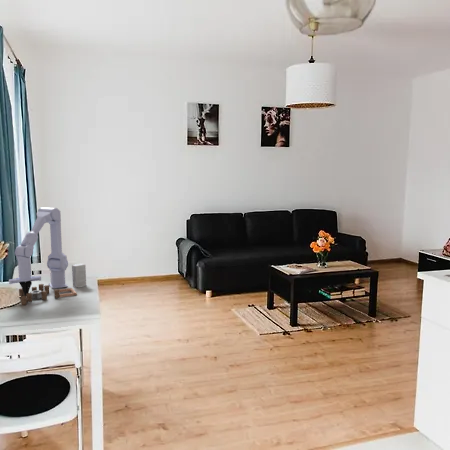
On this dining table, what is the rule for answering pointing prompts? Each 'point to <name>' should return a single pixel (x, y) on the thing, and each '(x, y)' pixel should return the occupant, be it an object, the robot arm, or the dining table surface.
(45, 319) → the dining table surface
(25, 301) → the walnut spacers
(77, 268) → the skincare box
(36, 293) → the steel nut
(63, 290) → the parts bay
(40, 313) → the dining table surface
